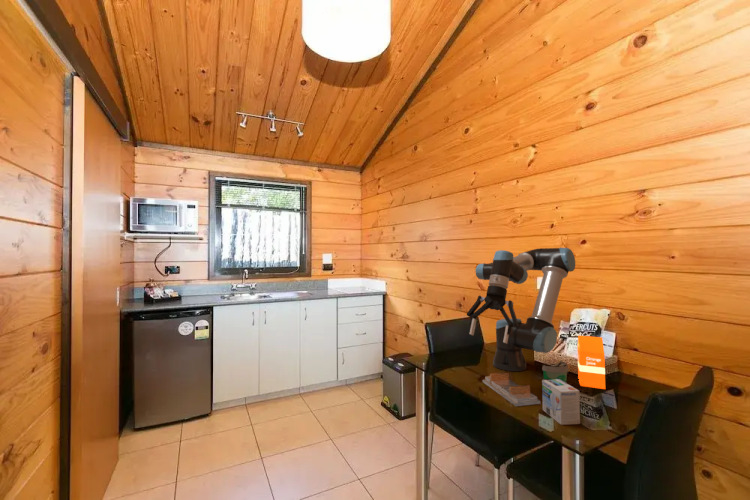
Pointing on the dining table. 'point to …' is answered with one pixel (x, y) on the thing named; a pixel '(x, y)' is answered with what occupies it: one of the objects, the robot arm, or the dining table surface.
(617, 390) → the dining table surface
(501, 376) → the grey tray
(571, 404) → the light bulb box
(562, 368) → the food container
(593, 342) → the orange juice
